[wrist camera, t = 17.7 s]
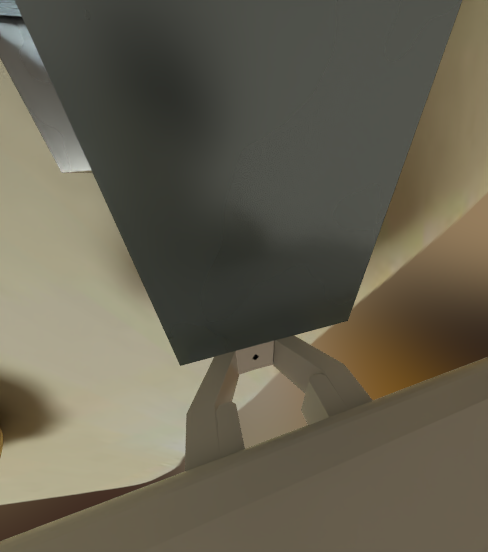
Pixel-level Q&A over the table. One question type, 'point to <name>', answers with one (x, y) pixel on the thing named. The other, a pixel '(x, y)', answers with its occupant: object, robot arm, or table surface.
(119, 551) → the robot arm
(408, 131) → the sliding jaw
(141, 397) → the table surface
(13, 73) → the vise
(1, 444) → the sculpture
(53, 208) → the table surface
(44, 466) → the table surface
